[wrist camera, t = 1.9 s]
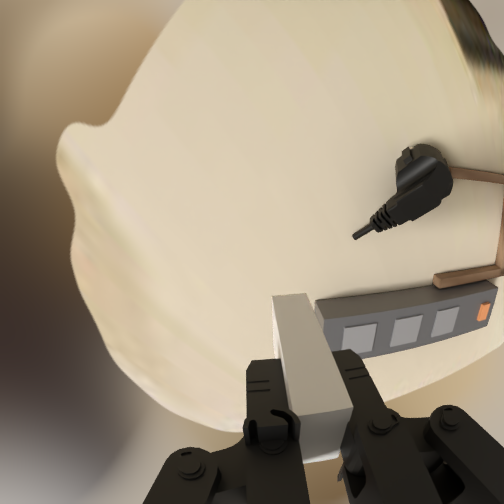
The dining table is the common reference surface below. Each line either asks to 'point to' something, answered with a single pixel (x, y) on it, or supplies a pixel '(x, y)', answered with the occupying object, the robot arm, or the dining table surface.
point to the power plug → (413, 188)
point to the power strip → (404, 317)
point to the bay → (500, 268)
